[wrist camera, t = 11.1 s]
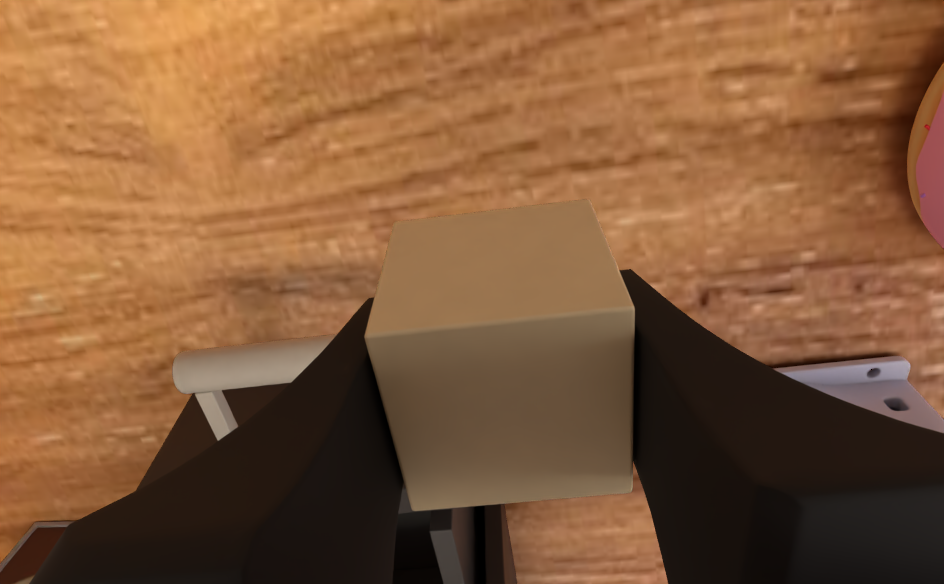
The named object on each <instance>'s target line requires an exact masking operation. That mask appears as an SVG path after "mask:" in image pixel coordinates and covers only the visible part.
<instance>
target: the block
mask: <svg viewBox="0 0 944 584" xmlns="http://www.w3.org/2000/svg"><path fill="white" fill-rule="evenodd" d="M364 338H365V341H366V345H367V349H368V352H369V356H370V360H371V363H372V367H373V371H374V374H375V378H376V381H377V385H378V389H379V392H380V396H381V400H382V403H383V407H384V411H385V414H386V418H387V422H388V425H389V429H390V433H391V436H392V440H393V444H394V447H395V451H396V454H397V458H398V462H399V465H400V469H401V473H402V476H403V480H404V484H405V487H406V491H407V495H408V498H409V502H410V506H411V509H412V510H413V511H423V510H434V509H446V508H458V507H470V506H482V505H493V504H505V503H517V502H529V501H540V500H552V499H564V498H576V497H587V496H599V495H611V494H623V493H630V492H632V489H633V418H634V338H635V308H634V305H633V303H632V300H631V298H630V295H629V293H628V290H627V288H626V286H625V283H624V281H623V278H622V276H621V273H620V271H619V269H618V266H617V264H616V261H615V259H614V256H613V254H612V252H611V249H610V247H609V244H608V242H607V239H606V237H605V235H604V232H603V230H602V227H601V225H600V222H599V220H598V217H597V215H596V213H595V210H594V208H593V205H592V203H591V201H590V200H589V199H583V200H574V201H566V202H557V203H549V204H540V205H532V206H524V207H515V208H507V209H498V210H490V211H481V212H473V213H464V214H456V215H448V216H439V217H431V218H422V219H414V220H405V221H397V222H394V224H393V228H392V231H391V235H390V239H389V243H388V247H387V251H386V255H385V259H384V262H383V266H382V270H381V274H380V278H379V282H378V286H377V289H376V293H375V297H374V301H373V305H372V309H371V313H370V316H369V320H368V324H367V328H366V332H365V336H364Z"/></svg>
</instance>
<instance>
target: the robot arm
mask: <svg viewBox="0 0 944 584" xmlns="http://www.w3.org/2000/svg"><path fill="white" fill-rule="evenodd" d="M620 273H621V276H622V278H623V281H624V283H625V286H626V288H627V290H628V293H629V295H630V298H631V300H632V303H633V305H634V308H635V338H634V418H633V462H634V464H635V467H636V470H637V473H638V475H639V478H640V481H641V484H642V486H643V489H644V492H645V495H646V498H647V501H648V505H649V508H650V511H651V515H652V519H653V523H654V527H655V531H656V535H657V539H658V543H659V547H660V551H661V555H662V559H663V563H664V567H665V571H666V575H667V580H668V584H944V419H943V418H942V417H941V416H940V415H939V414H938V413H937V412H936V411H935V410H934V409H933V408H932V407H931V405H930V404H929V403H928V402H927V401H926V400H925V399H924V398H923V397H922V396H921V395H920V394H919V393H918V392H917V390H916V389H915V388H914V387H913V386H912V385H911V384H910V383H909V382H908V381H907V377H908V374H909V371H910V364H909V362H908V361H907V360H906V359H905V358H904V357H902V356H890V357H880V358H870V359H861V360H851V361H841V362H831V363H822V364H812V365H802V366H793V367H783V368H773V369H772V368H770V367H769V366H767V365H765V364H763V363H761V362H759V361H757V360H756V359H754V358H752V357H750V356H748V355H746V354H745V353H743V352H741V351H740V350H738V349H736V348H735V347H733V346H731V345H730V344H728V343H727V342H725V341H723V340H722V339H720V338H719V337H717V336H716V335H714V334H713V333H711V332H710V331H708V330H707V329H705V328H704V327H702V326H701V325H700V324H698V323H697V322H695V321H694V320H693V319H691V318H690V317H689V316H687V315H686V314H685V313H683V312H682V311H681V310H679V309H678V308H677V307H676V306H674V305H673V304H672V303H671V302H669V301H668V300H667V299H666V298H664V297H663V296H662V295H661V294H660V293H658V292H657V291H656V290H655V289H654V288H652V287H651V286H650V285H649V284H648V283H647V282H645V281H644V280H643V279H642V278H641V277H639V276H638V275H637V274H636V273H635V272H633V271H632V270H631V269H629V270H620ZM373 301H374V298H369V299H368V300H367V301H366V302H365V303H364V304H363V305H362V306H361V307H360V309H359V310H358V311H357V312H356V313H355V314H354V316H353V317H352V318H351V319H350V320H349V321H348V323H347V324H346V325H345V326H344V327H343V328H342V330H341V331H340V332H339V333H338V334H337V335H336V336H335V337H334V339H333V340H332V341H331V342H330V343H329V344H328V345H327V346H326V348H325V349H324V350H323V351H322V352H321V353H320V354H319V355H318V356H317V357H316V358H315V359H314V360H313V361H312V362H311V363H310V364H309V365H308V366H307V367H306V368H305V369H304V370H303V371H302V372H301V373H300V374H299V375H298V376H297V377H296V378H295V379H294V380H293V381H292V382H291V383H290V384H289V385H288V386H287V387H286V388H285V389H284V390H283V391H282V392H280V393H279V394H278V395H277V396H276V397H275V398H274V399H272V400H271V401H270V402H269V403H268V404H266V405H265V406H264V407H263V408H262V409H260V410H259V411H258V412H257V413H255V414H254V415H253V416H252V417H251V418H249V419H248V420H247V421H245V422H244V423H243V424H241V425H240V426H238V427H237V428H236V429H234V430H233V431H231V432H230V433H229V434H227V435H226V436H224V437H223V438H221V439H220V440H219V441H217V442H216V443H214V444H213V445H212V446H210V447H209V448H207V449H206V450H204V451H203V452H201V453H200V454H198V455H197V456H195V457H194V458H192V459H190V460H189V461H187V462H186V463H184V464H182V465H181V466H179V467H177V468H176V469H174V470H172V471H171V472H169V473H167V474H166V475H164V476H162V477H160V478H159V479H157V480H155V481H153V482H152V483H150V484H148V485H146V486H144V487H143V488H141V489H139V490H137V491H135V492H133V493H131V494H129V495H127V496H125V497H123V498H121V499H120V500H118V501H116V502H114V503H112V504H110V505H108V506H106V507H104V508H102V509H100V510H98V511H96V512H94V513H92V514H90V515H88V516H86V517H84V518H82V519H79V520H77V521H75V522H73V523H71V524H69V525H68V526H67V528H66V529H65V531H64V532H63V534H62V535H61V536H60V538H59V539H58V541H57V542H56V544H55V546H54V547H53V549H52V550H51V552H50V553H49V555H48V556H47V558H46V559H45V561H44V562H43V564H42V565H41V567H40V568H39V570H38V571H37V573H36V574H35V576H34V577H33V579H32V580H31V582H30V583H29V584H392V581H393V566H394V551H395V536H396V527H397V520H398V512H399V506H400V501H401V495H402V489H403V484H404V480H403V476H402V473H401V469H400V465H399V462H398V458H397V454H396V451H395V447H394V444H393V440H392V436H391V433H390V429H389V425H388V422H387V418H386V414H385V411H384V407H383V403H382V400H381V396H380V392H379V389H378V385H377V381H376V378H375V374H374V371H373V367H372V363H371V360H370V356H369V352H368V349H367V345H366V341H365V338H364V336H365V332H366V328H367V324H368V320H369V316H370V313H371V309H372V305H373ZM871 369H872V370H871ZM869 370H871V371H869Z"/></svg>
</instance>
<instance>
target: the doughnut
mask: <svg viewBox="0 0 944 584" xmlns="http://www.w3.org/2000/svg"><path fill="white" fill-rule="evenodd" d="M907 177H908V185H909V190H910V194H911V198H912V201H913V204H914V206H915V209H916V211H917V213H918V215H919V217H920V218H921V220H922V222H923V223H924V225H925V226H926V228H927V229H928V231H929V232H930V233H931V235H932V236H933V237H934V239H935V240H936V241H937V242H938V243H939V245H940V246H941V247H942V248H943V249H944V62H943V64H942V65H941V67H940V68H939V70H938V72H937V73H936V75H935V77H934V78H933V80H932V82H931V84H930V85H929V87H928V89H927V91H926V93H925V95H924V98H923V100H922V102H921V104H920V107H919V109H918V112H917V115H916V118H915V121H914V124H913V127H912V131H911V135H910V140H909V146H908V155H907Z"/></svg>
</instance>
